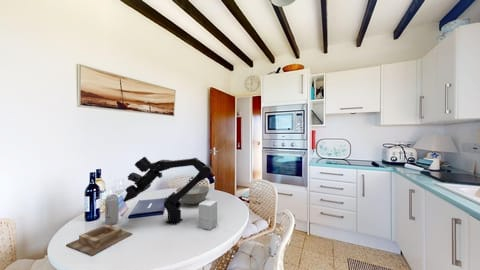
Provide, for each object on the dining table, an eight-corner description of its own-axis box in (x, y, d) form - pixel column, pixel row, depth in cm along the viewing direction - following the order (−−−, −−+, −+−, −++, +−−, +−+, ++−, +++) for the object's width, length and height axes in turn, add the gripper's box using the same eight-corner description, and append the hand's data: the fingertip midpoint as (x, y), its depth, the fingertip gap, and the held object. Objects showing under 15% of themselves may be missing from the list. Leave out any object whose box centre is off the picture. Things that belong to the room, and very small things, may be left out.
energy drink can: (103, 223, 104) (103, 196, 104) (115, 219, 109) (115, 193, 109) (108, 226, 101) (108, 198, 101) (120, 222, 106) (120, 195, 106)
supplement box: (217, 224, 104) (217, 201, 104) (209, 230, 98) (210, 205, 98) (206, 221, 108) (206, 199, 107) (198, 227, 101) (198, 203, 101)
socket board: (132, 234, 93) (132, 227, 93) (92, 256, 77) (92, 247, 77) (108, 227, 100) (108, 220, 100) (66, 245, 84) (66, 237, 84)
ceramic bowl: (206, 209, 125) (206, 193, 125) (171, 208, 126) (171, 193, 125) (211, 197, 147) (211, 184, 147) (181, 197, 148) (181, 184, 148)
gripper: (145, 165, 115) (126, 183, 115) (129, 171, 97) (106, 193, 96) (158, 177, 116) (140, 196, 115) (145, 186, 97) (123, 208, 97)
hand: (128, 198), depth 106 cm, fingers open, 9 cm apart
